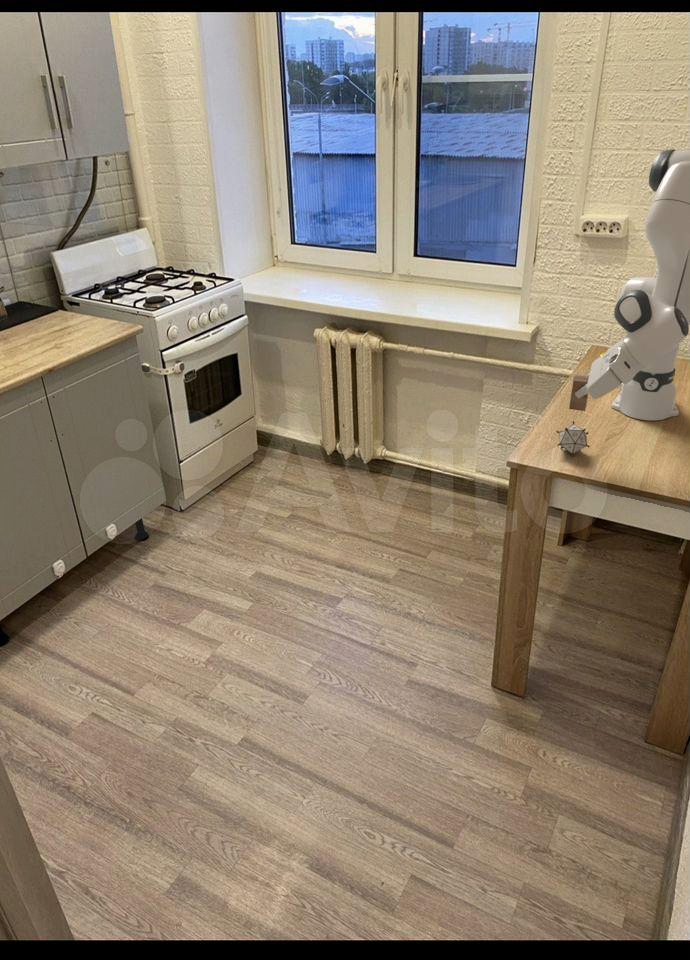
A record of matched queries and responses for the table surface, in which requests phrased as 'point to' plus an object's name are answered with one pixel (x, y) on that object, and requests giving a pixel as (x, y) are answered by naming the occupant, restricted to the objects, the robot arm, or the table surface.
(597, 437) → the table surface
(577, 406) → the walnut block
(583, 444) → the game die
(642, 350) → the robot arm
